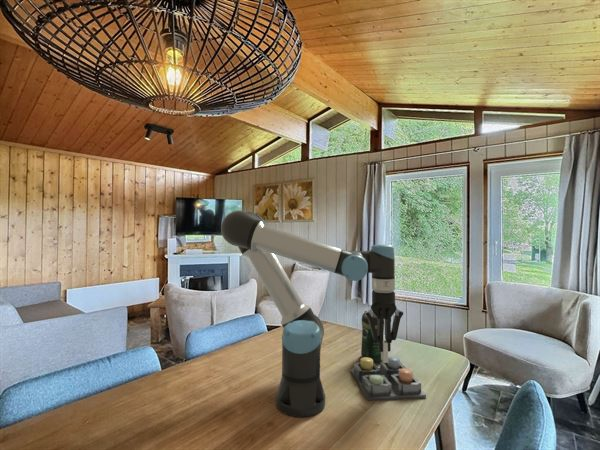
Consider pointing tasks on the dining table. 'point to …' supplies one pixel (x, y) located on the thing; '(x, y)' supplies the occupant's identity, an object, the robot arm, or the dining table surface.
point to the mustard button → (366, 363)
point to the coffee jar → (370, 340)
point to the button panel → (386, 383)
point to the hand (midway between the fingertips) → (384, 360)
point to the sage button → (376, 379)
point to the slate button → (393, 363)
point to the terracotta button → (405, 375)
